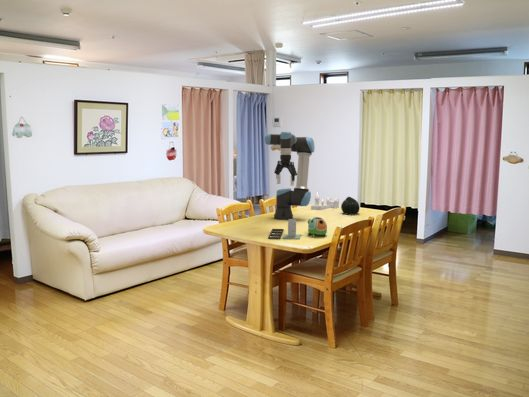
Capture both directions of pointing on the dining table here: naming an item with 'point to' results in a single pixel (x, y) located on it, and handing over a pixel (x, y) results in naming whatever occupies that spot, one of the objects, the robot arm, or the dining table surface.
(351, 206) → the squash
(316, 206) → the toy castle
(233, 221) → the dining table surface
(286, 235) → the mat
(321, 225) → the turtle holder
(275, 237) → the dark brown flat frame
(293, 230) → the gray rectangular brick
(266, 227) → the dining table surface
